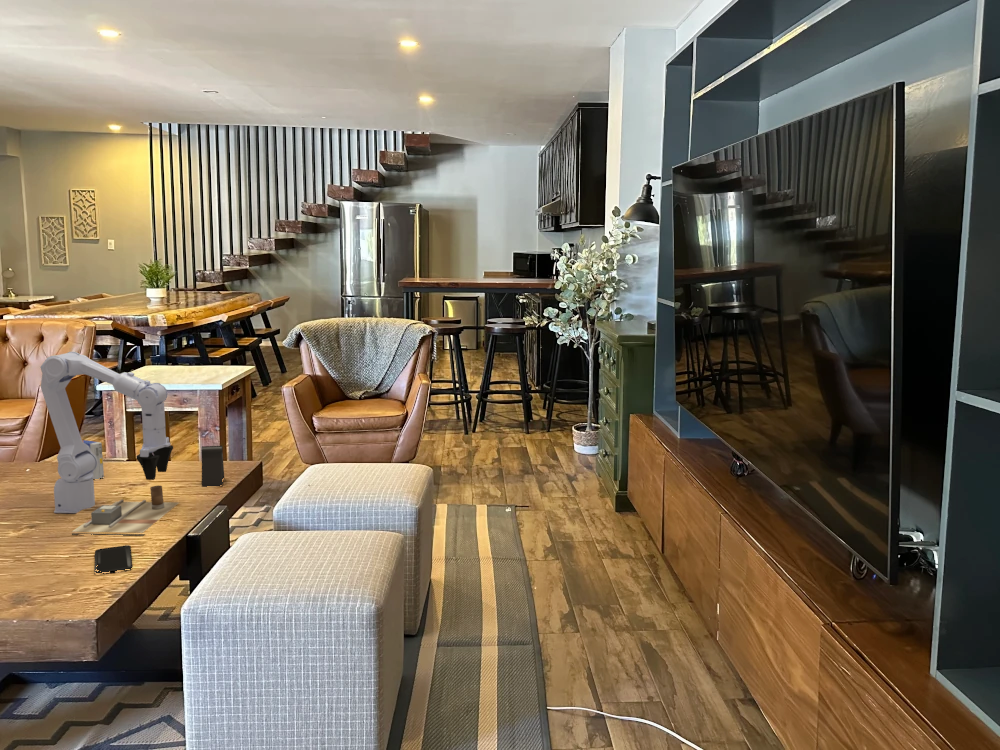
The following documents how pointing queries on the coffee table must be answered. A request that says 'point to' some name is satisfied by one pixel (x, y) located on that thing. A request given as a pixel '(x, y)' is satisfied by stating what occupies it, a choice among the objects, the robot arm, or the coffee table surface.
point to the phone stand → (212, 466)
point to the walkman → (97, 451)
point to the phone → (113, 559)
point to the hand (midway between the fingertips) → (156, 475)
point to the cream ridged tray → (129, 519)
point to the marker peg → (157, 497)
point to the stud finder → (106, 514)
